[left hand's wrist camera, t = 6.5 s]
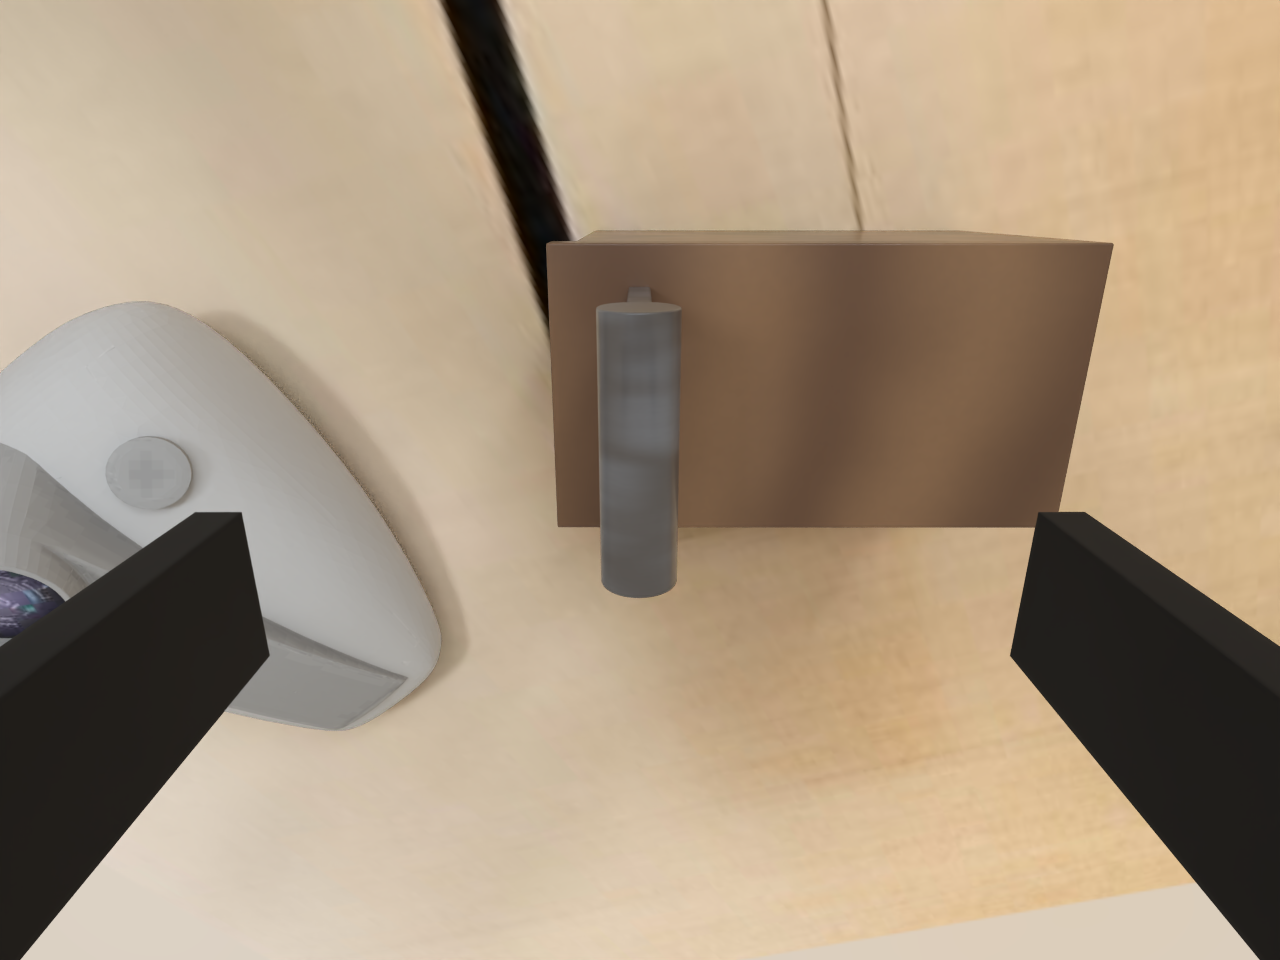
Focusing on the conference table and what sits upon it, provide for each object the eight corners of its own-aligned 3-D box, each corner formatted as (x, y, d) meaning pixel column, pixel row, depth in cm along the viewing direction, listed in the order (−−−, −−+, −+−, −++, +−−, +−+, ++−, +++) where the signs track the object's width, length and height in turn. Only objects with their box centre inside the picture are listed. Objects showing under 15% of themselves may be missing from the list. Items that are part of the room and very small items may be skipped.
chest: (598, 431, 39) (583, 514, 28) (594, 230, 35) (575, 241, 25) (932, 431, 39) (1038, 514, 28) (960, 230, 35) (1092, 241, 25)
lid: (561, 514, 28) (528, 638, 20) (550, 241, 25) (506, 258, 17) (1039, 514, 28) (1197, 638, 20) (1093, 241, 25) (1309, 258, 17)
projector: (67, 684, 44) (-198, 905, 30) (-29, 277, 36) (-448, 322, 22) (450, 703, 44) (364, 930, 30) (438, 306, 36) (315, 368, 22)
